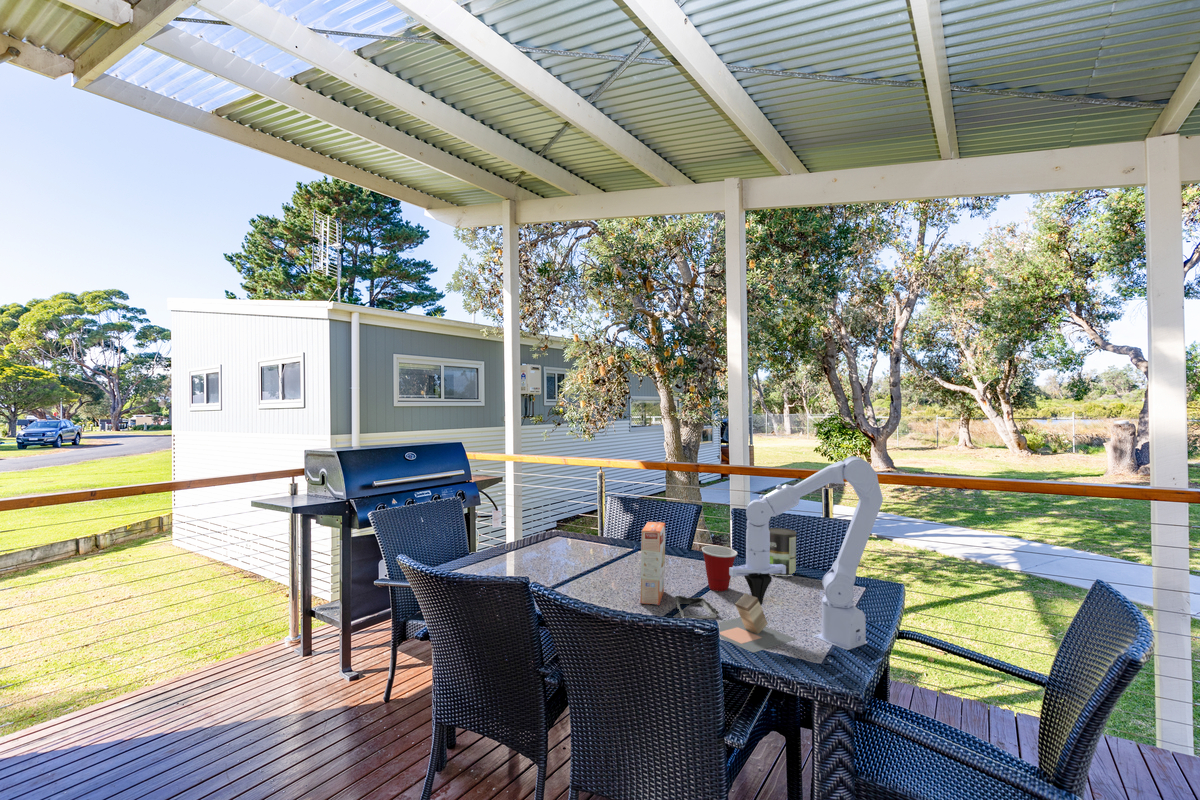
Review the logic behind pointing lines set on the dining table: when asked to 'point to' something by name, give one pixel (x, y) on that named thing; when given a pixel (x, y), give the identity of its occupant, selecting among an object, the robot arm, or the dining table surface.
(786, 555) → the coffee can
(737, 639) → the rubber mat
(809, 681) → the dining table surface
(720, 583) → the plastic cup
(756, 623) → the maple block
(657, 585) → the cracker box
